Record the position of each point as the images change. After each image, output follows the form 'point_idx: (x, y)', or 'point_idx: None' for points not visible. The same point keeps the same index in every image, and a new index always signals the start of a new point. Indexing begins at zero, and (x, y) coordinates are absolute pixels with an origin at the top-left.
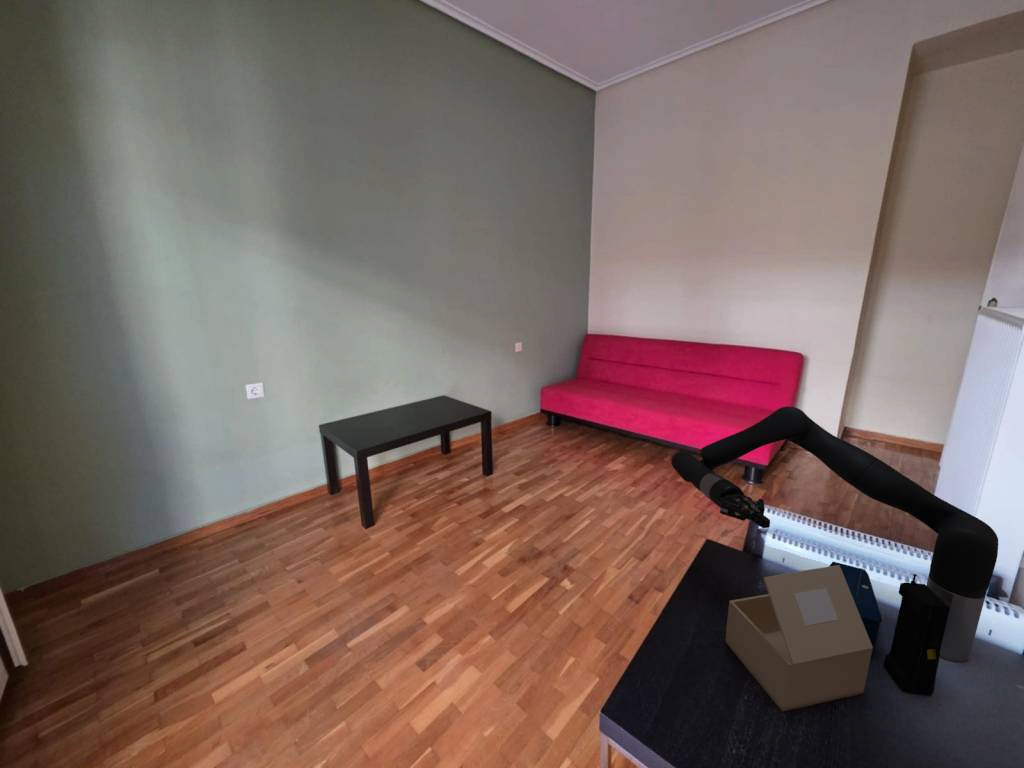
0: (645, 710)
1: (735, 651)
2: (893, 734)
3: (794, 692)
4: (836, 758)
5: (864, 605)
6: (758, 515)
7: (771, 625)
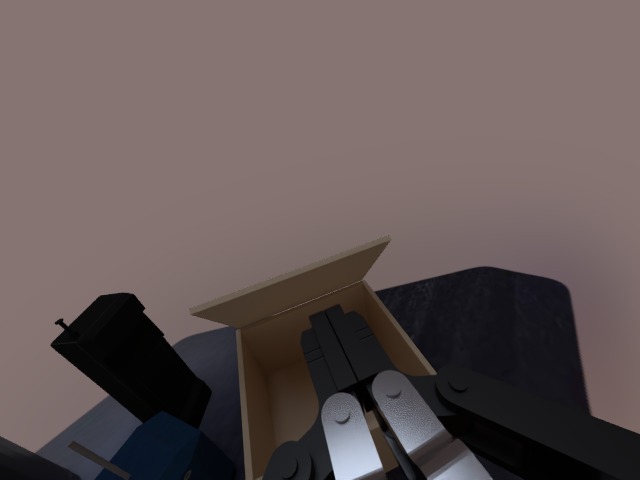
0: (528, 294)
1: None
2: None
3: None
4: None
5: (148, 438)
6: (355, 345)
7: None
